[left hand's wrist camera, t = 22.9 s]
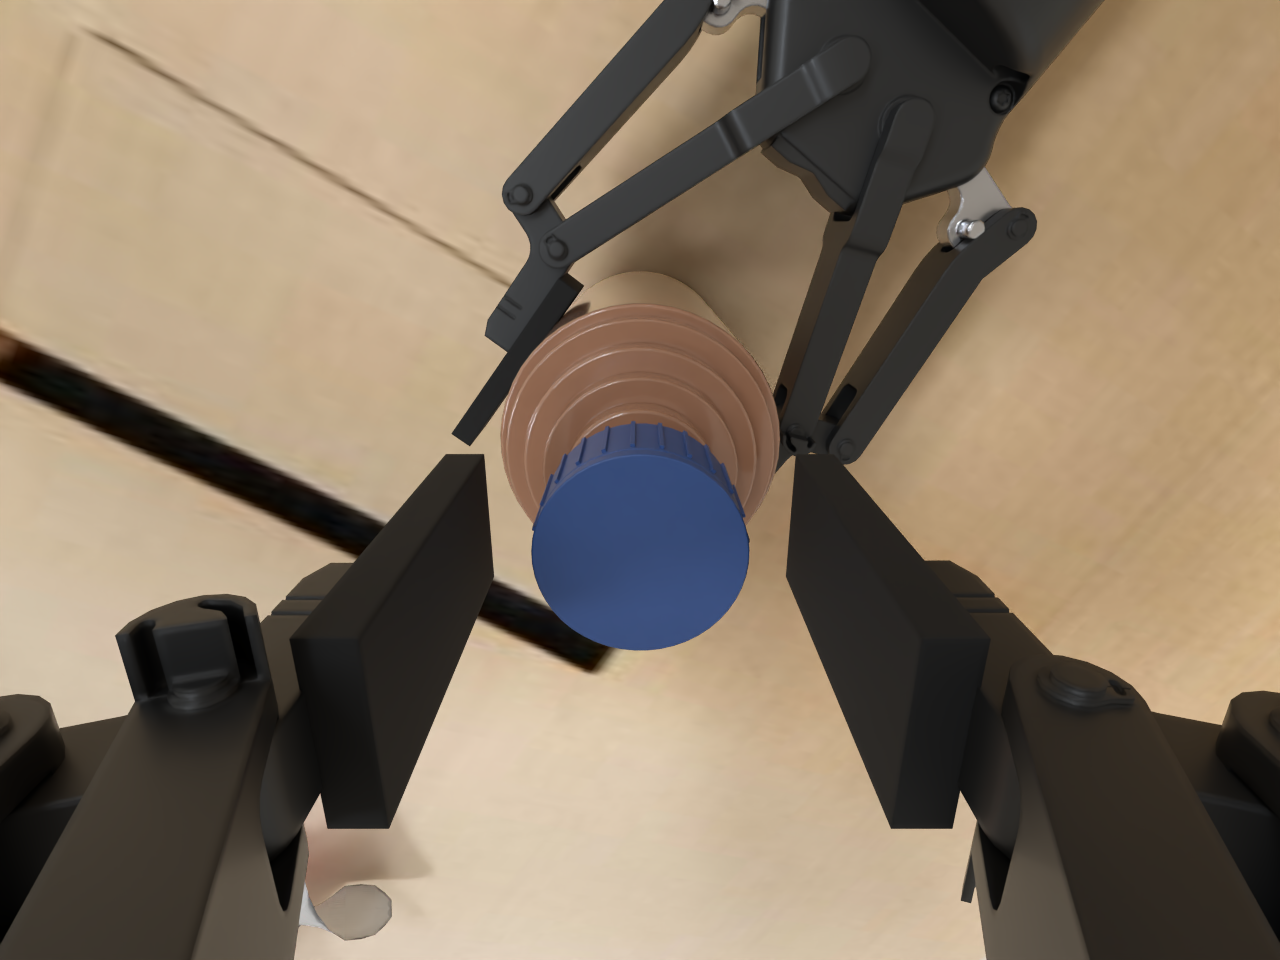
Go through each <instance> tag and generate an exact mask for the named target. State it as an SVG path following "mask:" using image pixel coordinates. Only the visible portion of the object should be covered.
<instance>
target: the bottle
mask: <svg viewBox="0 0 1280 960" xmlns="http://www.w3.org/2000/svg"><path fill="white" fill-rule="evenodd" d="M631 421H635V422H636V424H655V425H658V422H659V423H662V426H665V427H669V428H672V429H675V430H677V431H680V432H683V430H684V431H686V432H687V433H688V436H690V437H692V438H694V439H695V440H697V441H698V442H699V443H701V444H702V445H703V446H704V445H705V444H707V445H708V446H709V449H710V452H711V453H712V454H713V455H714V456H715V457H716V459H717V460H718V461H719V463H720V464H721V463H724V465H725V467H726V470H727V472H728V475H729V478H730V481H731V484H732V485H735V488H736V491H737V493H738V496H739V499H740V502H741V504H742V507H743V510H744V513H745V516H746V517H744V518H743V520H744V523H745V526H746V525H747V523H748V522H749V520H750V519H751V518H752V516H753V515H754V514H755V512H756V511H757V509H758V508H759V507H760V505H761V503H762V501H763V500H764V498H765V496H766V494H767V492H768V490H769V487H770V485H771V482H772V480H773V477H774V474H775V470H776V466H777V461H778V456H779V445H780V429H779V419H778V413H777V408H776V403H775V400H774V397H773V394H772V391H771V388H770V386H769V384H768V382H767V380H766V378H765V376H764V374H763V372H762V370H761V369H760V368H759V366H758V365H757V363H756V362H755V360H754V359H753V357H752V356H751V355H750V354H749V352H748V351H747V350H746V349H745V348H744V347H743V345H742V344H741V343H740V342H739V341H738V340H737V338H736V337H735V336H734V335H733V334H732V333H731V331H730V330H729V329H728V328H727V327H726V326H725V324H724V323H723V322H722V321H721V320H720V319H719V317H718V316H717V315H716V314H715V313H714V312H713V310H712V309H711V308H710V307H709V306H708V305H707V303H706V302H705V301H704V300H703V299H702V298H701V297H700V296H699V295H698V294H697V293H696V292H695V291H694V290H692V289H691V288H690V287H689V286H687V285H685V284H684V283H682V282H681V281H679V280H676V279H674V278H672V277H670V276H667V275H663V274H660V273H655V272H648V271H633V272H625V273H621V274H617V275H613V276H611V277H608V278H606V279H604V280H602V281H600V282H598V283H597V284H595V285H593V286H592V287H591V288H589V289H588V290H587V291H585V292H584V293H583V294H582V295H581V296H580V297H579V298H578V299H577V300H576V301H575V303H574V304H573V305H572V306H571V307H570V308H569V310H568V311H567V312H566V313H565V314H564V315H563V317H562V318H561V319H560V320H559V321H558V322H557V324H556V325H555V326H554V327H553V328H552V330H551V331H550V332H549V333H548V334H547V335H546V337H545V338H544V339H543V340H542V341H541V342H540V344H539V345H538V346H537V347H536V348H535V349H534V351H533V352H532V353H531V354H530V356H529V357H528V358H527V360H526V361H525V362H524V364H523V365H522V366H521V368H520V370H519V372H518V374H517V375H516V377H515V379H514V381H513V383H512V385H511V388H510V391H509V393H508V396H507V399H506V402H505V406H504V411H503V415H502V424H501V453H502V458H503V463H504V468H505V472H506V475H507V478H508V481H509V484H510V486H511V489H512V491H513V493H514V495H515V497H516V499H517V501H518V502H519V504H520V505H521V507H522V508H523V510H524V512H525V513H526V515H527V516H528V517H529V518H530V520H531V521H532V522H533V524H534V522H535V519H536V516H537V513H538V510H539V508H540V502H541V499H542V496H543V493H544V491H545V488H546V485H547V482H548V480H549V477H550V475H551V474H553V475H554V474H555V472H556V470H557V468H558V467H559V465H560V463H561V460H562V457H563V455H564V454H565V453H566V454H567V455H568V454H569V453H570V452H571V451H572V450H573V449H574V448H575V447H576V446H577V445H579V444H580V443H581V440H582V438H584V437H586V439H587V438H589V437H591V436H592V435H594V434H596V433H598V432H601V431H603V430H605V427H606V426H609V427H610V428H612V427H616V426H620V425H626V424H631Z"/></svg>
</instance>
